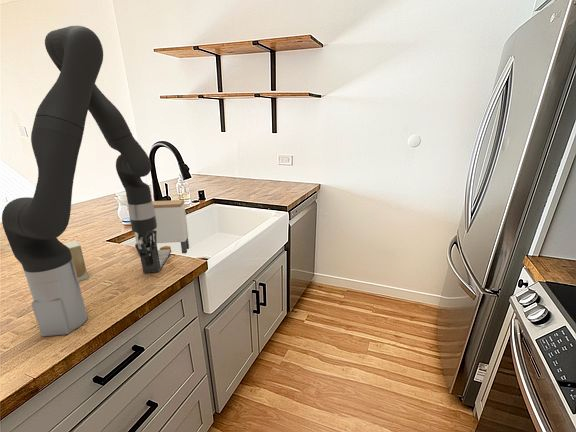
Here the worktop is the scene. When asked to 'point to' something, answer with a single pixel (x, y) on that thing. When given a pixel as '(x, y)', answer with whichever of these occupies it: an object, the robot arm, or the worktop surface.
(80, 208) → the worktop surface
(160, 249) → the token
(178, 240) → the cabinet
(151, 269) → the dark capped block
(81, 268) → the skincare box
